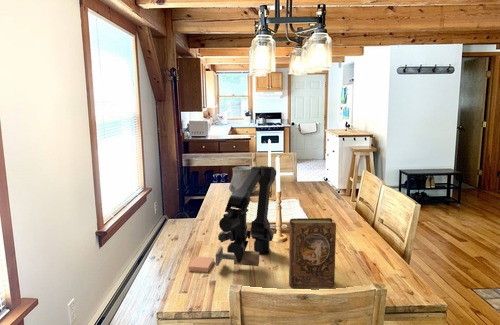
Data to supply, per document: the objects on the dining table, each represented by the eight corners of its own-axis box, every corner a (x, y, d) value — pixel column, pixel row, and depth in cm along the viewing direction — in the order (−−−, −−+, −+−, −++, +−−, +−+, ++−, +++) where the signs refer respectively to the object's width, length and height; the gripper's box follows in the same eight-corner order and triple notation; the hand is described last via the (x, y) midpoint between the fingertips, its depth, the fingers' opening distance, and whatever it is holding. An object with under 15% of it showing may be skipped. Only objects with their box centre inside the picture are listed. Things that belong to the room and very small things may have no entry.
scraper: (260, 260, 155) (260, 249, 154) (257, 269, 148) (257, 257, 147) (220, 257, 158) (220, 246, 157) (215, 265, 150) (215, 254, 149)
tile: (214, 257, 160) (196, 256, 161) (207, 267, 150) (188, 266, 151) (214, 262, 160) (196, 261, 161) (208, 273, 150) (189, 271, 151)
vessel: (248, 199, 263) (248, 171, 260) (223, 195, 275) (222, 168, 272) (263, 192, 282) (263, 166, 278) (239, 189, 293) (239, 164, 290)
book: (290, 288, 137) (290, 223, 133) (288, 281, 142) (288, 218, 138) (334, 287, 137) (336, 222, 133) (330, 280, 143) (332, 217, 139)
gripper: (225, 216, 160) (225, 250, 163) (214, 231, 142) (214, 269, 145) (250, 217, 159) (250, 252, 161) (242, 232, 140) (242, 271, 143)
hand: (239, 260), depth 153 cm, fingers closed on scraper, 3 cm apart
